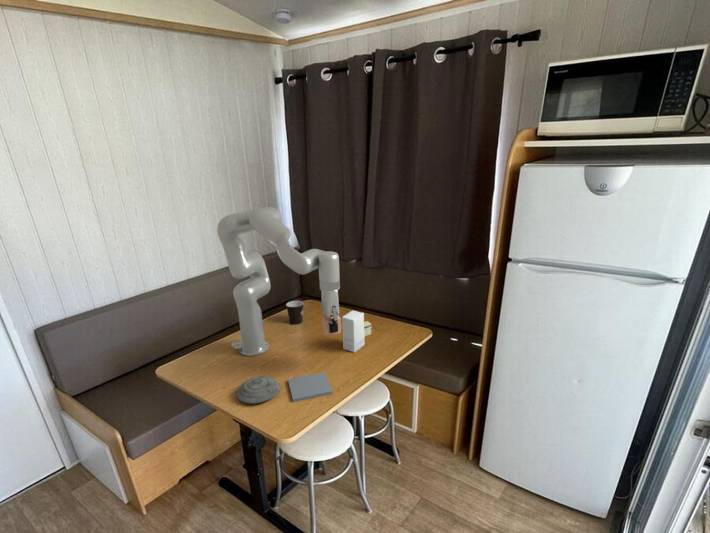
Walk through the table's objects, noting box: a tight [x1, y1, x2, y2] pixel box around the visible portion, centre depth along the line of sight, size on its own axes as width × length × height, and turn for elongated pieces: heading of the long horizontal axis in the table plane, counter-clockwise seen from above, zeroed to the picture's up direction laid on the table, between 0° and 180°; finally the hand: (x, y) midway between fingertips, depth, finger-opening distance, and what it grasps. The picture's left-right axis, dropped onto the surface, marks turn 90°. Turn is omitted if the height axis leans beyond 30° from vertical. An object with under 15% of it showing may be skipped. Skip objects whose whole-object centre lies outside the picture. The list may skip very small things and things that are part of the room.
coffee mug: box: [285, 300, 304, 326], centre depth 191 cm, size 12×9×10 cm
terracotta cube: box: [321, 313, 342, 336], centre depth 145 cm, size 6×6×6 cm
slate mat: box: [287, 371, 333, 403], centre depth 136 cm, size 14×13×1 cm
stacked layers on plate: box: [364, 321, 373, 338], centre depth 175 cm, size 10×9×6 cm
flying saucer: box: [236, 375, 281, 405], centre depth 133 cm, size 15×15×6 cm
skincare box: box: [341, 310, 366, 353], centre depth 162 cm, size 8×7×16 cm
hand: (331, 328), depth 145 cm, fingers closed on terracotta cube, 6 cm apart
